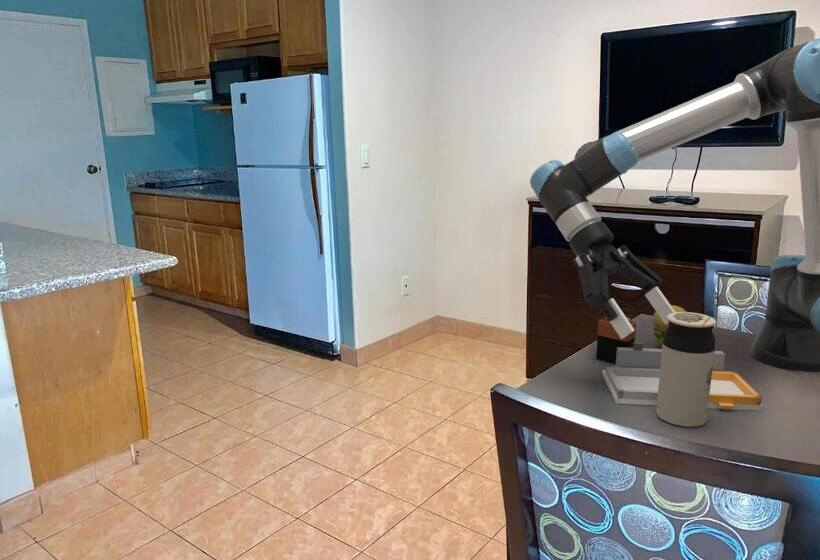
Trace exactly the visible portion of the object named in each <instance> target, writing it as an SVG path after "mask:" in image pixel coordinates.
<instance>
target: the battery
mask: <svg viewBox="0 0 820 560" xmlns="http://www.w3.org/2000/svg"><path fill="white" fill-rule="evenodd" d="M625 317H626V318H627V320H628V321H629V322H630V324H631V325H632V327H633V328H634V330H635V331H633V332H632V333H630V334H629V335H628V336H626V337H625V338H623V339H621V338H620V336H619V335H618V333H617V332H616V330H615V329H614V327H613V326H612V324H611V323H610V321H609V320H607V318H606V317H605V316H604V317H603V318H600V319H598V325H597V327H598V328H597V337H596V341H597V342H596V352H595V356H596V357H595V359H596V360H597V361H603V362H605V363H610V364H613V365H616V354H617V347H622V348H633V342H636V341H635V340H636V333H637V332H636V330H637V329H636V327H637V323H636V321H632V320H631V318H630V317H628V316H625Z"/></svg>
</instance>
